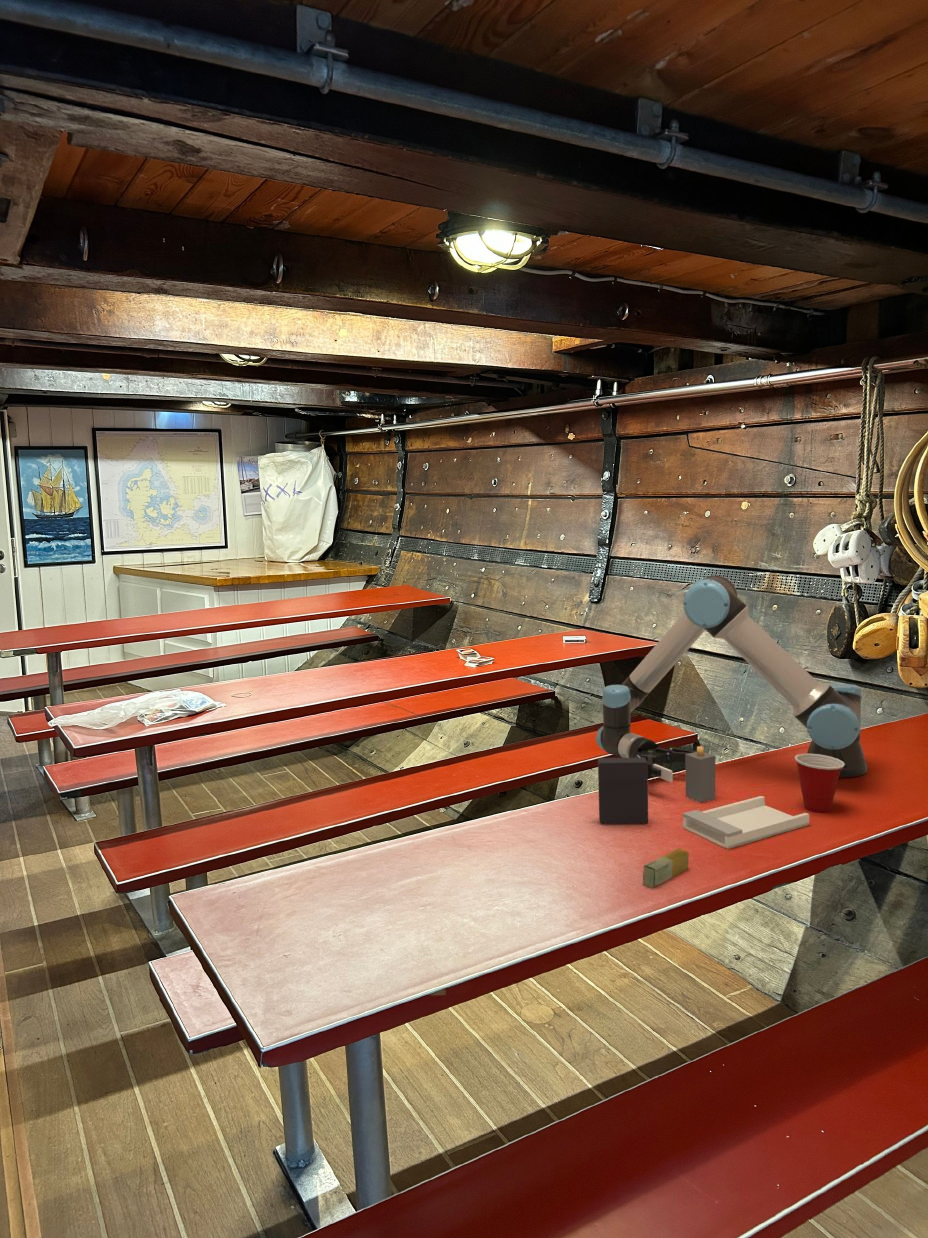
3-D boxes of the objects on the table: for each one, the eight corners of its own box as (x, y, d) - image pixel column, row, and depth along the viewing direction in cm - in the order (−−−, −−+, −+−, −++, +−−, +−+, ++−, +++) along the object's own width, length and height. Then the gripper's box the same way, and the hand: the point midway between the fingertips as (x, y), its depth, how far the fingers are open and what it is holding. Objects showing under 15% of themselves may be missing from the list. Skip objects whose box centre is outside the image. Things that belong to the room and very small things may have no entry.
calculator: (646, 818, 199) (645, 756, 197) (648, 825, 195) (647, 762, 193) (599, 818, 200) (597, 757, 198) (600, 825, 196) (598, 762, 194)
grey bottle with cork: (701, 793, 214) (701, 743, 212) (715, 799, 209) (715, 748, 208) (685, 797, 212) (685, 746, 210) (699, 803, 207) (699, 751, 205)
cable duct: (761, 806, 203) (761, 792, 203) (809, 825, 191) (809, 810, 191) (683, 827, 193) (682, 813, 192) (728, 849, 180) (728, 834, 180)
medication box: (653, 889, 164) (653, 870, 164) (642, 885, 166) (642, 865, 166) (689, 869, 172) (689, 850, 172) (677, 865, 174) (677, 846, 174)
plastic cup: (851, 816, 195) (853, 765, 194) (804, 817, 196) (804, 767, 194) (832, 799, 206) (833, 751, 204) (787, 800, 206) (787, 752, 205)
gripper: (675, 755, 236) (731, 776, 217) (601, 772, 225) (653, 795, 206) (675, 729, 235) (731, 748, 216) (600, 744, 224) (652, 765, 205)
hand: (693, 771), depth 211 cm, fingers open, 13 cm apart
